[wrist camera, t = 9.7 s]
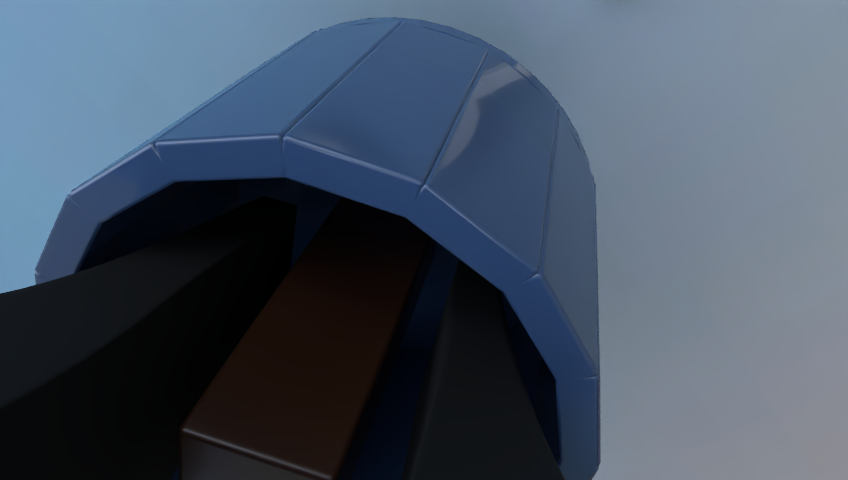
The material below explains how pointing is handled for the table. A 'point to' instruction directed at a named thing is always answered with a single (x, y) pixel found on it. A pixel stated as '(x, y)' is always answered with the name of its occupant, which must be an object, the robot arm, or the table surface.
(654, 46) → the table surface
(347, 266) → the dark brown square post
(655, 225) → the table surface
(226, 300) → the robot arm
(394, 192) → the cup
